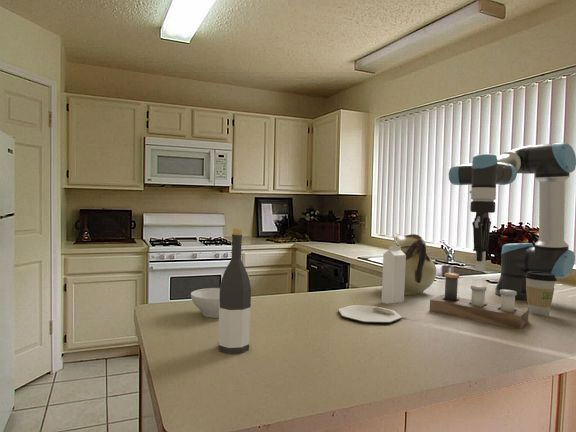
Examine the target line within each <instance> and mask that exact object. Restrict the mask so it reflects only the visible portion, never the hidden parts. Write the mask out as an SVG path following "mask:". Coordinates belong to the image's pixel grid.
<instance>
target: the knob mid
mask: <svg viewBox="0 0 576 432" xmlns="http://www.w3.org/2000/svg"><path fill="white" fill-rule="evenodd" d="M470 289H471V298H470V299H471V305H475V306H481V307H484V302H486V301H485V297H486V291H487V286H485V285H479V284H478V285H477V284H472V285H470Z"/></svg>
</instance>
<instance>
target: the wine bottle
mask: <svg viewBox="0 0 576 432" xmlns="http://www.w3.org/2000/svg"><path fill="white" fill-rule="evenodd" d="M242 239H243V234H242V228H233V229H232V234H231V258H230V261H229V263H228V265H227V267H226V268H225V270H224V272H223V275H222V276H221V281H220V285H219V288H220V299H219V318H218V331H217V332H218V333H217V336H218V337H217V340H218V341H217V344H218V352H220V353H224V354H226V355H235V354H236V355H238V354H243V353H245V352H247V351H249V349H250V338H251V337H250V336H251V335H250V333H251V332H250V331H251V306H252V305H251V304H252V303H251V301H252V287H251V281H250V278H249V275H248V271H247V270H246V267H245V265H244V263H243V260H242V243H243V241H242Z"/></svg>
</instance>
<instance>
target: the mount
mask: <svg viewBox="0 0 576 432" xmlns="http://www.w3.org/2000/svg"><path fill="white" fill-rule="evenodd" d="M471 299H472V298H465V297H459V296H457V301H449V300H445V294H441V295H438V296H435V297H433V298H431V299H430V300H429V312H432V313H439V314H442V315H448V316H451V317H457V318H461V319H467V320H471V321H477V322H481V323H485V324H486V323H487V324H490V325H497V326H500V327H505V328H510V329H516V330H521V329H522V328H523V327H524V326H525V325H526V324H527V323H529V309H527V308H523V307H522V308H521V307H516V306H515V307H514V312H508V311H503V310H500V304H501V303H493V302H486V301H484V307H481V306H475V305H471Z"/></svg>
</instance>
